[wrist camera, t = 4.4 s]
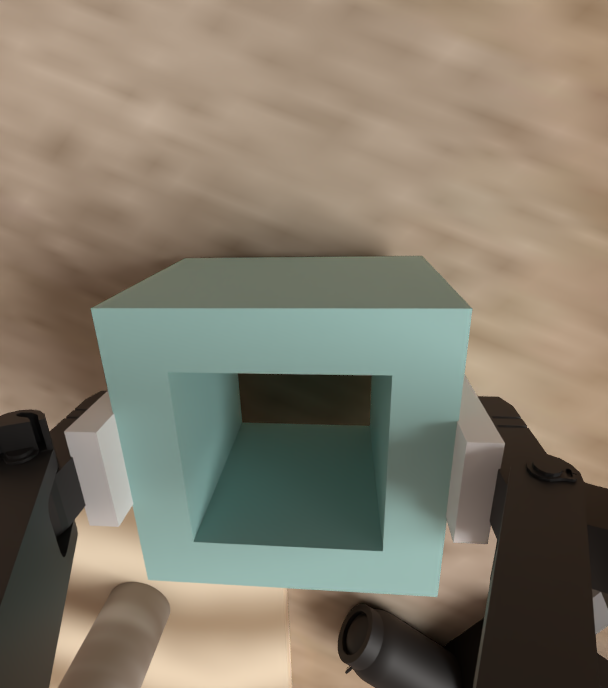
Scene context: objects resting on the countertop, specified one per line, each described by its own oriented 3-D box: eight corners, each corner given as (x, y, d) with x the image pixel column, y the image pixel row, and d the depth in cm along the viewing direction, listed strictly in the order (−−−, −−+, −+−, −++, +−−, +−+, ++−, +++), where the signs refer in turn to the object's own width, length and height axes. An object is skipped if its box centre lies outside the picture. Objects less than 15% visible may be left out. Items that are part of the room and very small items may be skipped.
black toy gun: (602, 448, 15) (318, 695, 19) (929, 709, 18) (623, 872, 23) (553, 406, 18) (319, 626, 23) (839, 635, 21) (586, 790, 26)
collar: (184, 258, 15) (90, 308, 9) (422, 255, 14) (472, 308, 9) (209, 453, 18) (148, 580, 12) (406, 459, 17) (437, 596, 12)
